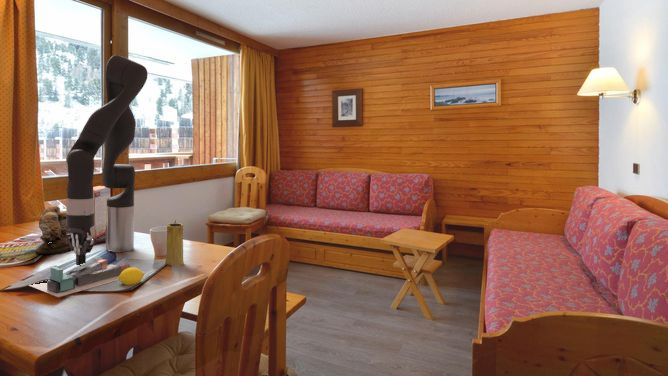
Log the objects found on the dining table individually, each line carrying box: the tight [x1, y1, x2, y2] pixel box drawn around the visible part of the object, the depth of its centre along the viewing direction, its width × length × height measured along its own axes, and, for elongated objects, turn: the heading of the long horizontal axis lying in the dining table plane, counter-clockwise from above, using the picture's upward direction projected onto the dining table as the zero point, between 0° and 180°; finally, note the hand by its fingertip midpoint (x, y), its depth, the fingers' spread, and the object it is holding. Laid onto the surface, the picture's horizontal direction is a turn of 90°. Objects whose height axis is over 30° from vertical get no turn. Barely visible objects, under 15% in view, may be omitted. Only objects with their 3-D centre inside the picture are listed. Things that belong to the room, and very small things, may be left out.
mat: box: [28, 263, 120, 298], centre depth 121 cm, size 15×25×1 cm, turn 153°
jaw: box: [68, 258, 108, 279], centre depth 123 cm, size 16×2×3 cm, turn 177°
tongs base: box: [46, 263, 131, 294], centre depth 119 cm, size 22×4×3 cm, turn 152°
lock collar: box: [48, 266, 73, 291], centre depth 111 cm, size 3×6×6 cm, turn 62°
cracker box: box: [90, 185, 111, 239], centre depth 174 cm, size 14×6×21 cm, turn 5°
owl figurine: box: [35, 204, 73, 256], centre depth 149 cm, size 18×12×17 cm, turn 12°
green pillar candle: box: [165, 222, 184, 266], centre depth 141 cm, size 6×6×14 cm
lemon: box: [118, 267, 145, 286], centre depth 120 cm, size 7×5×5 cm
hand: (80, 265), depth 128 cm, fingers closed
